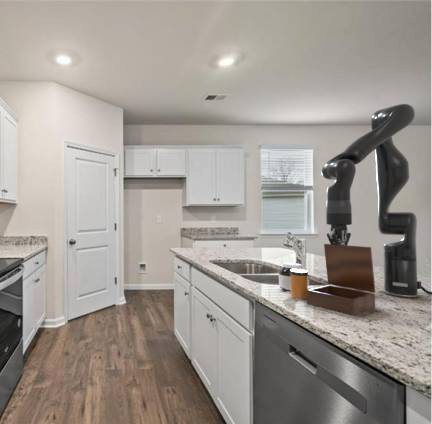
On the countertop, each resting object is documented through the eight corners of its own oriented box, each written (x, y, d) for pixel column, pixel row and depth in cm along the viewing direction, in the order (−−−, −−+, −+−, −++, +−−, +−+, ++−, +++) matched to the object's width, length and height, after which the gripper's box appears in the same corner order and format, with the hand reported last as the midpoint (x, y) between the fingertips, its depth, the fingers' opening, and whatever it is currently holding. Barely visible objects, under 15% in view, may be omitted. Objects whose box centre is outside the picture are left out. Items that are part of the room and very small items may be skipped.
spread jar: (280, 292, 116) (280, 264, 117) (276, 286, 127) (275, 260, 127) (315, 295, 112) (314, 266, 112) (307, 288, 122) (306, 262, 123)
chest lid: (370, 247, 92) (371, 247, 93) (323, 244, 105) (325, 243, 105) (374, 292, 93) (375, 291, 94) (328, 283, 105) (329, 283, 106)
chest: (353, 318, 87) (353, 300, 87) (307, 306, 99) (306, 289, 99) (375, 310, 93) (374, 293, 93) (328, 300, 106) (328, 284, 106)
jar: (295, 296, 111) (295, 268, 111) (311, 299, 106) (311, 271, 106) (287, 298, 109) (286, 270, 109) (302, 302, 103) (302, 272, 104)
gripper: (341, 212, 100) (342, 260, 100) (359, 212, 106) (360, 257, 106) (318, 212, 107) (318, 257, 106) (336, 212, 113) (336, 255, 112)
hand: (339, 257), depth 106 cm, fingers closed
